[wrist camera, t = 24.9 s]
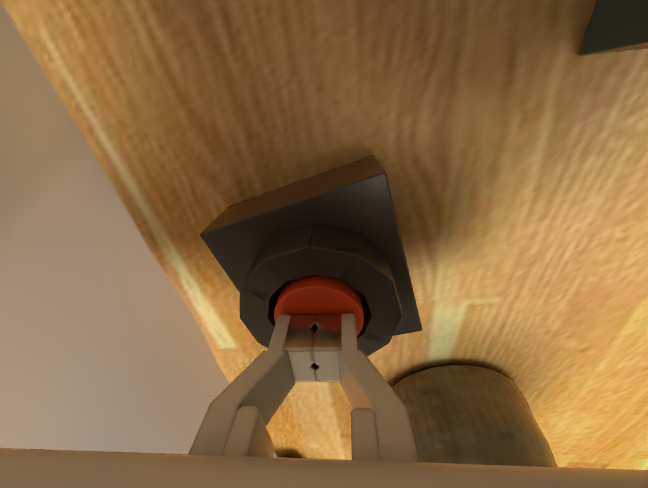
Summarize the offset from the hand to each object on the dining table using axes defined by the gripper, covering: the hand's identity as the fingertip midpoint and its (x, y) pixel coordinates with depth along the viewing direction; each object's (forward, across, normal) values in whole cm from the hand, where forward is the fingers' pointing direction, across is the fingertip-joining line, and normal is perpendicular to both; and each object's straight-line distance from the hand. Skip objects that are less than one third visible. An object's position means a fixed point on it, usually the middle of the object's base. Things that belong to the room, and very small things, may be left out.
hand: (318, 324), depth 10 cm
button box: (+5, 0, 0) cm, 5 cm away
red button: (+2, 0, 0) cm, 2 cm away
